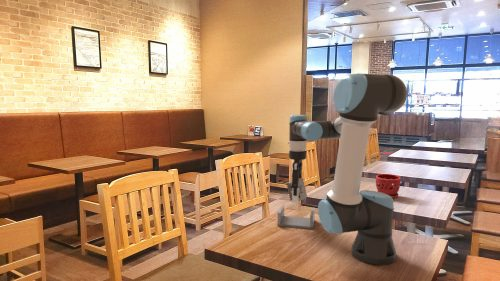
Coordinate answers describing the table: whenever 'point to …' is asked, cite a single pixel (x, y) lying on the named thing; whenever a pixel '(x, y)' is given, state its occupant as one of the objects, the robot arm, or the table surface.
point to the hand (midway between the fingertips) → (296, 198)
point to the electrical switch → (301, 190)
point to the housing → (296, 220)
